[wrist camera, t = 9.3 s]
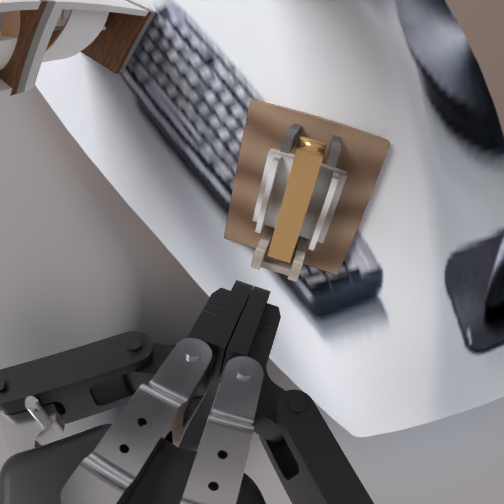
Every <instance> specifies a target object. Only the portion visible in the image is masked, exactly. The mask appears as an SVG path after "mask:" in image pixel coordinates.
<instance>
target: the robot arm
mask: <svg viewBox="0 0 504 504" xmlns="http://www.w3.org/2000/svg"><path fill="white" fill-rule="evenodd" d="M252 289H253V290H252ZM269 295H270V291H268V290H265V289H262V288H259V287H256V286H254V287H253V286H252V285H249V284H246V283H243V282H241V281H238V280H237V281H236V282H235V284H234V286H233V288H232V290H231V291H229V290H226V289H223V288H220V289H218V290H217V291H215V292H214V293H212V295H211V296H210V298H209V300H208V302H207V304H206V305H205V307H204V309H203V311H202V312H201V314H200V316H199V317H198V319H197V321H196V323H195V324H194V326H193V328H192V330H191V332H190V333H189V335H188V337H187V338H186V339H184V340H181V341H180V342H178V343H177V344H174V345H162V344H154V343H152V342H151V340H150V338H149V337H148V336H147V335H146V334H144V333H141V332H138V331H129V332H125V333H122V334H119V335H116V336H113V337H109V338H107V339H103V340H100V341H97V342H93V343H90V344H87V345H84V346H81V347H77V348H74V349H70V350H67V351H64V352H61V353H57V354H54V355H50V356H47V357H44V358H40V359H37V360H33V361H30V362H26V363H23V364H19V365H16V366H12V367H8V368H5V369H1V370H0V415H1V419H2V424H3V428H4V432H5V436H6V440H7V444H8V447H9V451H10V454H11V457H10V458H9V459H7V461H6V462H5V463H4V465H3V467H2V469H1V472H0V504H266V503H265V501H264V498H263V496H262V494H261V492H260V490H259V489H258V487H257V486H256V484H255V483H254V481H253V480H252V479H251V478H250V477H249V476H248V475H246V474H245V473H244V469H245V465H246V461H247V457H248V453H249V449H250V444H251V440H252V436H253V431H254V432H256V433H257V434H259V438H260V440H261V442H262V444H263V446H264V449H265V450H266V453H267V455H268V457H269V459H270V461H271V463H272V465H273V467H274V469H275V471H276V473H277V475H278V477H279V478H280V481H281V483H282V485H283V486H284V489H285V490H286V492H287V494H288V496H289V498H290V500H291V502H292V504H374V503H373V501H372V500H371V498H370V496H369V495H368V493H367V491H366V490H365V488H364V486H363V485H362V483H361V481H360V480H359V478H358V476H357V475H356V473H355V471H354V470H353V468H352V466H351V465H350V463H349V461H348V460H347V458H346V456H345V455H344V453H343V451H342V449H341V448H340V446H339V444H338V443H337V441H336V439H335V438H334V436H333V434H332V432H331V431H330V429H329V427H328V426H327V424H326V422H325V421H324V419H323V417H322V415H321V414H320V412H319V410H318V408H317V407H316V405H315V403H314V402H313V400H312V399H311V397H310V396H309V395H307V394H306V393H304V392H302V391H299V390H288V391H285V390H283V389H282V388H280V387H279V386H277V385H276V384H275V383H273V381H271V379H270V378H269V376H268V374H267V370H266V364H267V361H268V358H269V354H270V351H271V348H272V345H273V341H274V338H275V335H276V331H277V328H278V325H279V321H280V318H281V316H280V312H279V307H277V306H274V305H271V304H268V303H267V301H268V298H269ZM220 375H221V376H220ZM219 377H220V380H219V382H220V385H219V388H218V391H217V394H216V398H215V401H214V404H213V407H212V410H211V412H210V415H209V417H208V421H207V423H206V427H205V430H204V433H203V436H202V439H201V442H200V445H199V448H198V451H197V452H195V451H188V450H182V449H180V448H178V446H179V444H180V442H181V439H182V437H183V434H184V432H185V429H186V428H187V426H188V424H189V422H190V421H191V419H192V417H193V415H194V414H195V412H196V410H197V408H198V406H199V405H200V403H201V401H202V399H203V397H204V396H205V393H206V391H207V389H208V387H209V385H210V383H211V380H214V381H218V379H219ZM126 403H127V404H126ZM123 404H126V406H125V407H124V409H123V410H122V412H121V413H120V414H119V416H118V417H117V418H116V420H115V421H114V423H113V424H105V425H100V426H97V427H94V428H92V429H89V430H86V431H84V432H81V433H78V434H75V435H72V436H70V437H67V438H64V439H61V440H58V441H55V442H52V443H50V442H51V441H53V440H55V439H57V438H58V437H60V436H61V435H62V433H63V431H64V428H65V424H67V423H70V422H73V421H76V420H79V419H83V418H86V417H88V416H92V415H95V414H97V413H101V412H104V411H106V410H109V409H112V408H115V407H118V406H121V405H123Z"/></svg>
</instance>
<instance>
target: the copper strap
mask: <svg viewBox="0 0 504 504" xmlns="http://www.w3.org/2000/svg"><path fill="white" fill-rule="evenodd" d="M326 146H327V144H326V143H323V142H319V141H316V140H313V139H310V138H306V137H303V136H300V138H299V141H298V144H297V149H296V153H295V156H294V160H293V164H292V167H291V171H290V175H289V179H288V182H287V186H286V190H285V193H284V197H283V201H282V204H281V208H280V212H279V215H278V219H277V222H276V226H275V230H274V233H273V237H272V240H271V244H270V248H269V251H268V255H267V256H269V257H272V258H275V259H278V260H281V261H284V262H288V263H290V260H291V257H292V254H293V251H294V248H295V245H296V242H297V239H298V236H299V233H300V230H301V227H302V224H303V221H304V217H305V214H306V211H307V208H308V205H309V202H310V198H311V195H312V192H313V189H314V186H315V182H316V179H317V176H318V173H319V169H320V166H321V163H322V159H323V156H324V153H325V149H326Z"/></svg>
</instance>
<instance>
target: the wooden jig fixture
mask: <svg viewBox="0 0 504 504" xmlns="http://www.w3.org/2000/svg"><path fill="white" fill-rule="evenodd" d="M300 136H303V137H306V138H310V139H313V140H316V141H319V142H323V143H326V144H327V146H326V149H325V153H324V156H323V159H322V163H321V166H320V169H319V173H318V176H317V179H316V182H315V186H314V189H313V192H312V195H311V198H310V202H309V205H308V208H307V211H306V214H305V217H304V221H303V224H302V227H301V230H300V233H299V236H298V239H297V242H296V245H295V248H294V251H293V254H292V257H291V260H290V263H288V262H284V261H281V260H278V259H275V258H272V257H269V256H267V255H268V251H269V248H270V244H271V240H272V237H273V233H274V230H275V226H276V222H277V219H278V215H279V212H280V208H281V204H282V201H283V197H284V193H285V190H286V186H287V182H288V179H289V175H290V171H291V167H292V164H293V160H294V156H295V153H296V149H297V144H298V141H299V138H300ZM389 144H390V143H389V141H388V140H386V139H383V138H380V137H378V136H375V135H372V134H369V133H367V132H364V131H361V130H358V129H355V128H352V127H349V126H346V125H343V124H340V123H337V122H334V121H331V120H328V119H324V118H321V117H318V116H314V115H311V114H308V113H304V112H300V111H297V110H293V109H289V108H286V107H282V106H278V105H274V104H270V103H265V102H261V101H257V100H251V101H250V104H249V109H248V114H247V119H246V124H245V129H244V134H243V139H242V144H241V149H240V154H239V159H238V164H237V170H236V175H235V180H234V185H233V191H232V196H231V201H230V207H229V212H228V218H227V223H226V229H225V235H224V238H225V239H228V240H231V241H234V242H237V243H240V244H244V245H247V246H250V247H253V248H256V250H255V252H254V255H253V259H252V263H251V267H252V268H255V269H259V270H260V267H263V268H266V269H269V270H272V271H275V272H278V273H281V274H284V275H287V276H288V279H289V280H292V281H295V282H297V279H298V277H299V274H300V271H301V268H302V265H303V264H305V265H308V266H311V267H315V268H318V269H321V270H324V271H327V272H330V273H333V274H336V275H337V274H338V272H339V270H340V268H341V265H342V263H343V261H344V259H345V256H346V254H347V252H348V249H349V247H350V245H351V242H352V240H353V238H354V235H355V233H356V230H357V228H358V226H359V223H360V221H361V218H362V216H363V213H364V211H365V208H366V206H367V203H368V201H369V198H370V196H371V193H372V190H373V188H374V185H375V182H376V180H377V177H378V174H379V172H380V169H381V166H382V163H383V161H384V158H385V155H386V152H387V149H388V147H389Z"/></svg>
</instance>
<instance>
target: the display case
mask: <svg viewBox="0 0 504 504" xmlns="http://www.w3.org/2000/svg"><path fill="white" fill-rule="evenodd" d="M155 14H156V12H154V11H152V10H150V9H148V8H146V7H143V6H141V5H139V4H137V3H135V2H133V1H130V0H0V99H1V98H4V97H7V96H11V95H14V94H17V93H21V92H24V91H28V90H32V89H33V88H34V85H35V81H36V78H37V75H38V72H39V68H40V65H41V62H45V61H52V60H58V59H64V58H68V57H71V56H73V55H75V54H77V53H79V52H82V53H84V54H85V55H87V56H89V57H90V58H92V59H94V60H95V61H97V62H99V63H100V64H102V65H103V66H105V67H106V68H108V69H110V70H111V71H113V72H114V73H121V72H124V70H125V68H126V66H127V64H128V62H129V60H130V59H131V57H132V55H133V53H134V51H135V49H136V47H137V45H138V44H139V42H140V40H141V38H142V36H143V35H144V33H145V31H146V29H147V28H148V26H149V24H150V23H151V21H152V19H153V18H154V16H155Z"/></svg>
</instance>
